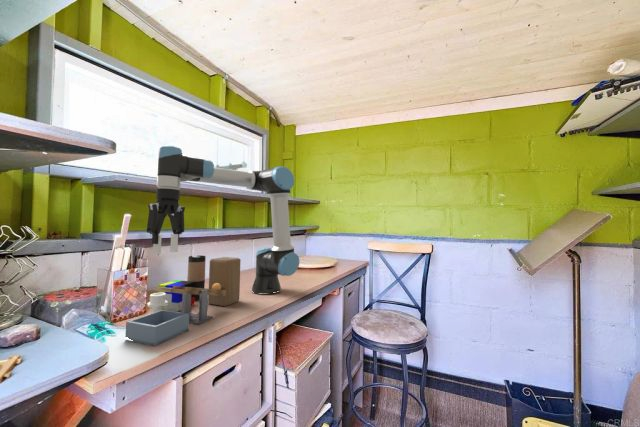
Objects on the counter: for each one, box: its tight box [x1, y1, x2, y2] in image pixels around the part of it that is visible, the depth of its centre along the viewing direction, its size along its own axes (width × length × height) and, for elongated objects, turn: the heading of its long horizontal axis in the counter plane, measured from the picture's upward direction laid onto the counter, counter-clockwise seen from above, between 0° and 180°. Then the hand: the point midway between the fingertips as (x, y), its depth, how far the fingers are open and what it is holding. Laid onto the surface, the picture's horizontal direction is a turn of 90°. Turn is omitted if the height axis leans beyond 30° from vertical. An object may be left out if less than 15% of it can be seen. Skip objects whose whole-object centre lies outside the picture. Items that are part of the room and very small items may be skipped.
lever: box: [154, 286, 227, 296], centre depth 103 cm, size 22×14×3 cm, turn 162°
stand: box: [181, 288, 214, 326], centre depth 99 cm, size 7×11×11 cm, turn 72°
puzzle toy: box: [157, 279, 196, 312], centre depth 114 cm, size 10×10×10 cm
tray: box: [125, 310, 190, 347], centre depth 84 cm, size 13×12×6 cm
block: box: [208, 256, 242, 307], centre depth 121 cm, size 10×10×20 cm
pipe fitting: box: [146, 292, 168, 313], centre depth 103 cm, size 6×7×8 cm
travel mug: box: [186, 255, 206, 301], centre depth 127 cm, size 8×8×20 cm
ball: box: [212, 283, 221, 290], centre depth 110 cm, size 4×4×4 cm
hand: (165, 252), depth 96 cm, fingers open, 6 cm apart
